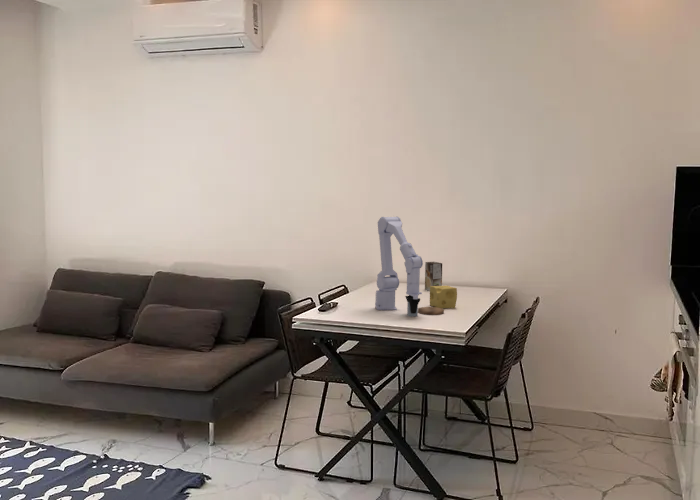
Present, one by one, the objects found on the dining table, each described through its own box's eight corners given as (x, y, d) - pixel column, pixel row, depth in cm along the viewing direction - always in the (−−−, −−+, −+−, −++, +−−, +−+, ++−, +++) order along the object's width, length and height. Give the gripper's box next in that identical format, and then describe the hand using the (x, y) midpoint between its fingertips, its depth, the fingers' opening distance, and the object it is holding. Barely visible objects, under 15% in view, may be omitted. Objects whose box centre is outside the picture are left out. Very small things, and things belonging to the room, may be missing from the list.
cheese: (436, 309, 323) (437, 288, 322) (428, 305, 333) (429, 285, 332) (456, 308, 326) (457, 288, 325) (447, 304, 336) (448, 284, 335)
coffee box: (442, 291, 377) (443, 263, 375) (432, 292, 374) (433, 263, 372) (433, 289, 385) (434, 261, 383) (424, 289, 382) (424, 261, 381)
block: (408, 316, 304) (409, 303, 303) (407, 314, 308) (407, 301, 307) (417, 316, 304) (417, 303, 303) (415, 314, 308) (416, 301, 307)
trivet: (420, 314, 307) (420, 311, 307) (415, 310, 319) (415, 306, 319) (446, 314, 308) (446, 311, 308) (440, 310, 320) (440, 306, 320)
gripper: (425, 285, 298) (424, 315, 299) (418, 280, 312) (418, 309, 313) (409, 285, 297) (408, 315, 298) (403, 280, 311) (403, 309, 313)
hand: (412, 312), depth 306 cm, fingers closed on block, 4 cm apart
